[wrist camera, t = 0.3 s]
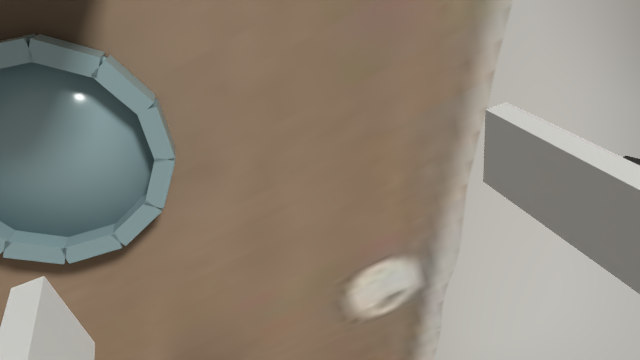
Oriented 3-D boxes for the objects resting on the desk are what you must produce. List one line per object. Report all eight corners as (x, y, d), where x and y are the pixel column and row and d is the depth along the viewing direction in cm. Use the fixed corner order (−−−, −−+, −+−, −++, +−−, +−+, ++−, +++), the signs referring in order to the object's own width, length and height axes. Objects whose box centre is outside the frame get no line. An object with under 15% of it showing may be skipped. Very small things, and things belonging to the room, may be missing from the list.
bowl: (-136, 69, 29) (-161, 77, 27) (128, 14, 32) (124, 16, 30) (-5, 270, 37) (-17, 289, 35) (197, 211, 40) (199, 225, 38)
